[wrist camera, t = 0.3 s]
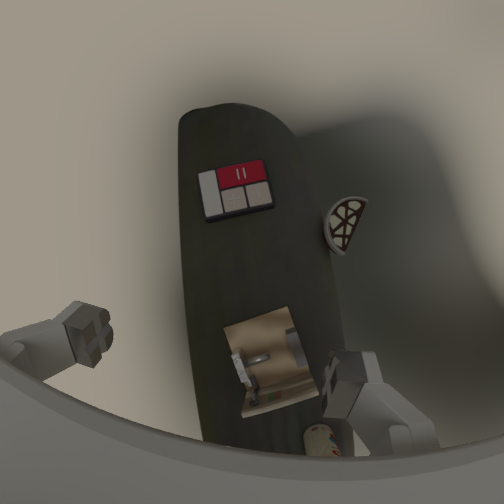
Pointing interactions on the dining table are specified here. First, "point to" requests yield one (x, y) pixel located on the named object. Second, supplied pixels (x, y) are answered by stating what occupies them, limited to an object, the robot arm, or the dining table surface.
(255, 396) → the dark bent bar
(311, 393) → the gauge frame
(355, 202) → the food container
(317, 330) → the dining table surface
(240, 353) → the slab with metal rod
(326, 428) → the aerosol can
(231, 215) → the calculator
